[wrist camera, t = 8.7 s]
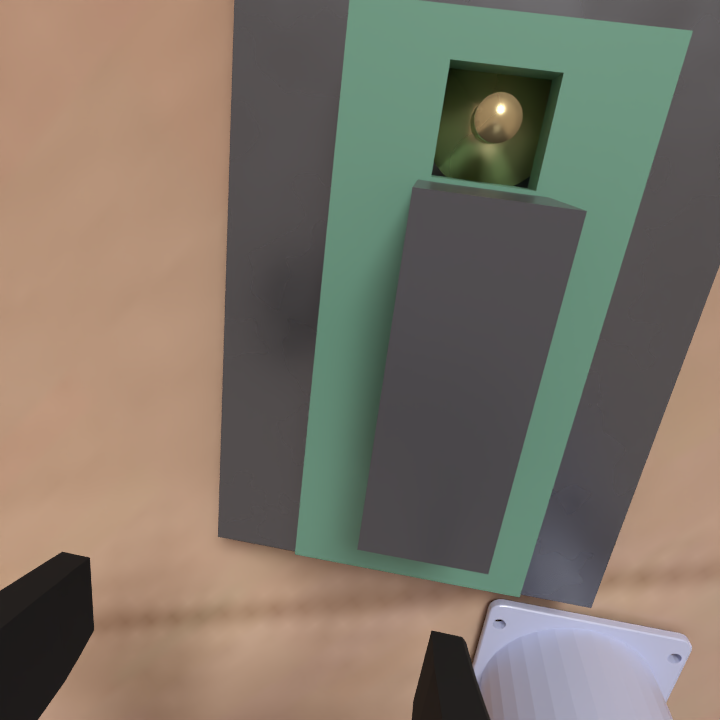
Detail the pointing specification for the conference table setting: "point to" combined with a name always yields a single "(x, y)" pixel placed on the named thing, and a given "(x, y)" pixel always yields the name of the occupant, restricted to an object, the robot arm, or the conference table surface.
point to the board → (372, 223)
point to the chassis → (470, 162)
